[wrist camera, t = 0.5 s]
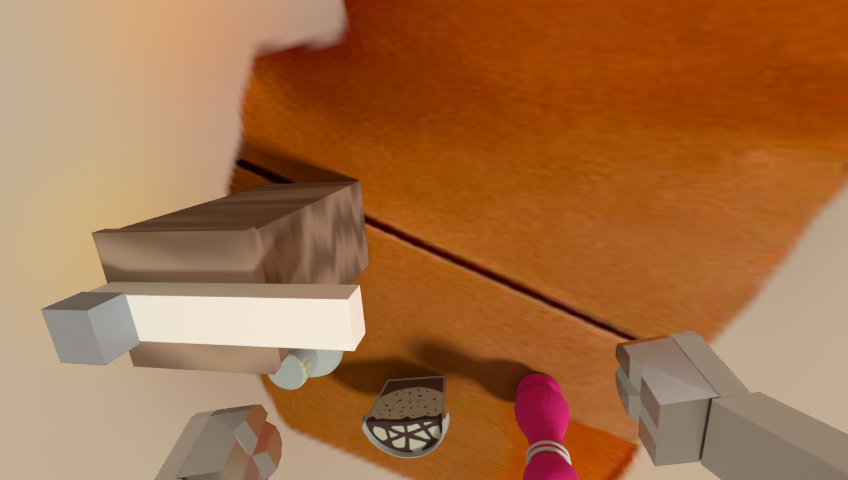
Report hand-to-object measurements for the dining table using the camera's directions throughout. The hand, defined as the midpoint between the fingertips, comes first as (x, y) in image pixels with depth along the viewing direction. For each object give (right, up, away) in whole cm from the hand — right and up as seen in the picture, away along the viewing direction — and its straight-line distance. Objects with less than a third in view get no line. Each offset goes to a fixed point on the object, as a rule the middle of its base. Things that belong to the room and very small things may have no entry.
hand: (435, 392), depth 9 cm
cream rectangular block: (-16, -2, +23) cm, 28 cm away
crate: (-15, +6, +48) cm, 51 cm away
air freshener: (-17, -11, +54) cm, 58 cm away
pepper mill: (+17, -19, +50) cm, 56 cm away
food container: (-1, -21, +54) cm, 58 cm away
